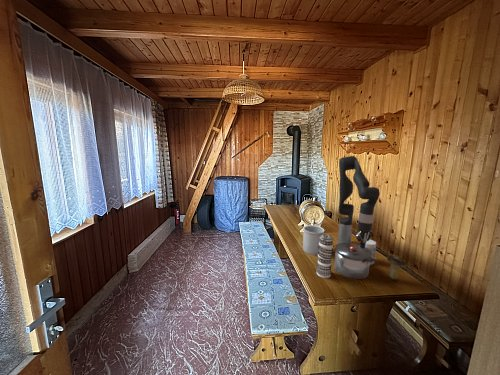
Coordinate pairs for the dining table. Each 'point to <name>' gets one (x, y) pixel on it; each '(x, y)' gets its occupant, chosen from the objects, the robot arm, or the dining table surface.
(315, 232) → the utensil holder
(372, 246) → the supplement tub
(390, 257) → the mushroom
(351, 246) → the cooker lid
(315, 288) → the dining table surface
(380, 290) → the dining table surface
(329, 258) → the decorative candle
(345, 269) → the cooker pot
